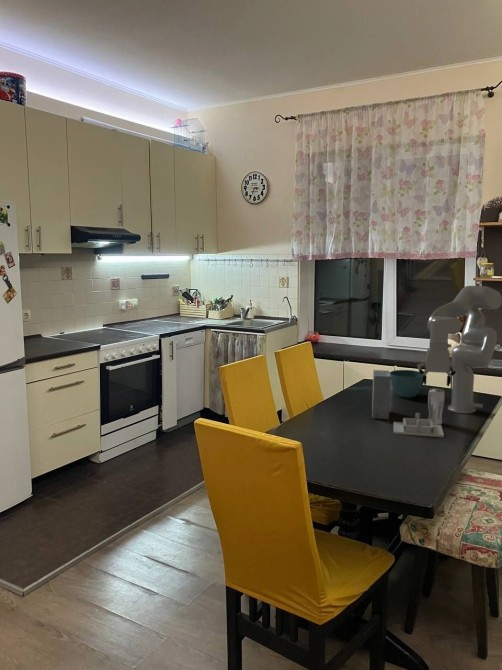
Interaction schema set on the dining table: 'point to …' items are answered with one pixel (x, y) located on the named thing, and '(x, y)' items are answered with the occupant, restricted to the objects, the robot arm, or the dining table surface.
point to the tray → (400, 430)
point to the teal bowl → (406, 382)
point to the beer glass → (436, 405)
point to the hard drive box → (381, 394)
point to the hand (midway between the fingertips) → (436, 384)
